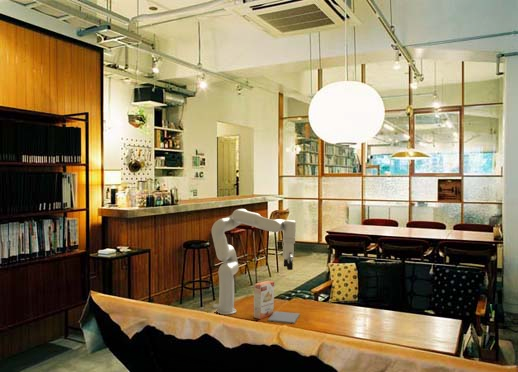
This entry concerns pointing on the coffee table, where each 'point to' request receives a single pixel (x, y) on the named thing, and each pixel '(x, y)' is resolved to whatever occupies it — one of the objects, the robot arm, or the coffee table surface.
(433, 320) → the coffee table surface
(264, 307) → the cracker box
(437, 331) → the coffee table surface
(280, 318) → the slate mat
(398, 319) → the coffee table surface
